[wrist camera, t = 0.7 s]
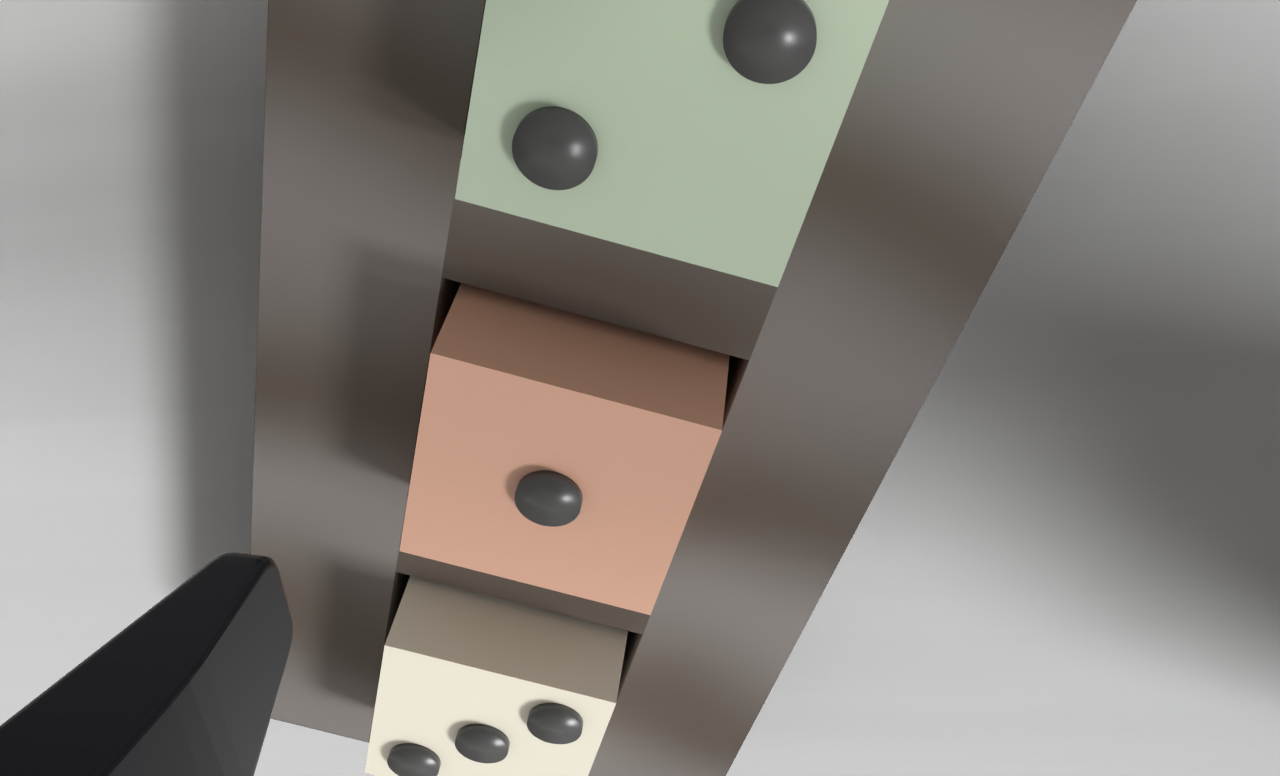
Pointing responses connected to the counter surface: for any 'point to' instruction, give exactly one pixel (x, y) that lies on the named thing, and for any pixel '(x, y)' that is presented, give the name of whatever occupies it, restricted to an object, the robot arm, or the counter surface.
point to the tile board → (634, 298)
